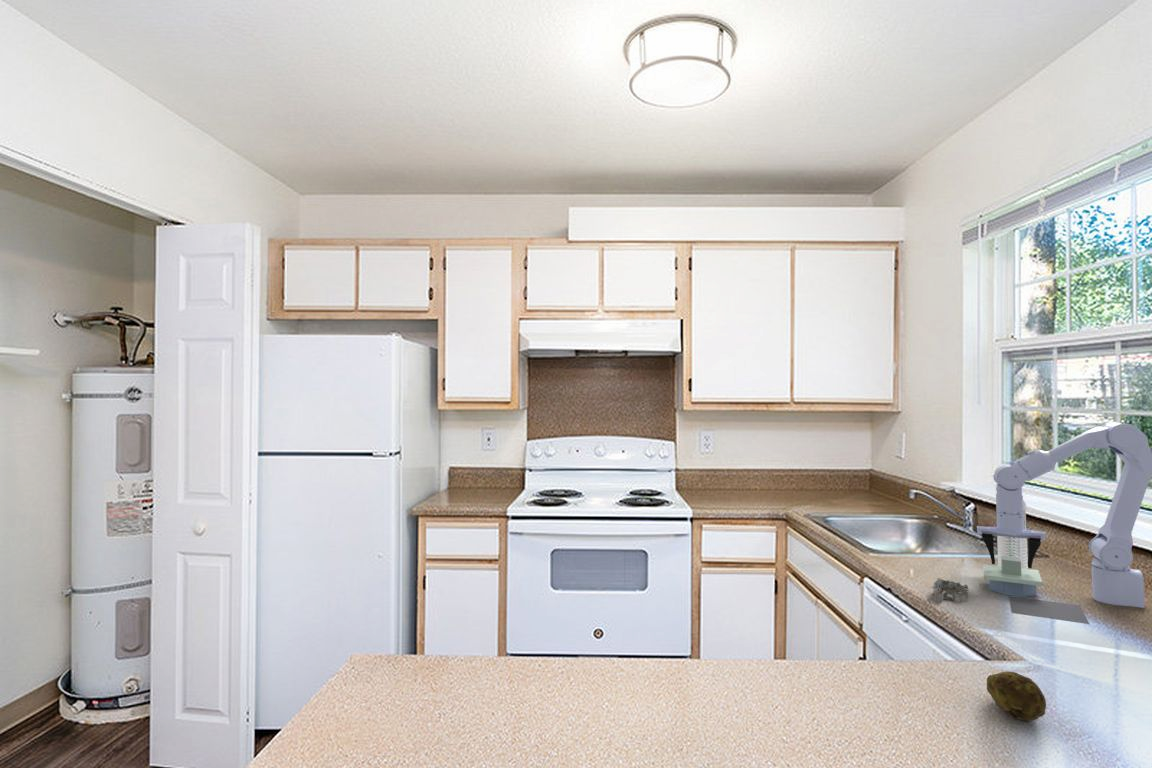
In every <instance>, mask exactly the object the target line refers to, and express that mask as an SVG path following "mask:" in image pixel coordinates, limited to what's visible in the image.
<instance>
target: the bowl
mask: <svg viewBox="0 0 1152 768" xmlns="http://www.w3.org/2000/svg"><path fill="white" fill-rule="evenodd" d="M988 589H989V591H990V590H991V591H993V592H996V593H998V594H999V593H1000V594H1001V595H1007V596H1014V597H1022V598H1026V597H1032V596H1037V585H1028V584H1020V583H1012V582H1004V581H996V580H988Z"/></svg>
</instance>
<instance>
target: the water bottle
mask: <svg viewBox="0 0 1152 768" xmlns="http://www.w3.org/2000/svg"><path fill="white" fill-rule="evenodd" d="M1026 510H1027V504H1026V501H1024V500H1023V519H1024V529H1026V530H1027V514H1026V512H1027V511H1026ZM1019 536H1020V535H1019ZM996 538H997V540H996V542H997V544H996V545H997V566H1002V565H1001V556H1004V557H1013V558H1020V560H1021V568H1023V569H1029V568H1028V541H1027V539H1026V538H1015V537H1004V536H996Z"/></svg>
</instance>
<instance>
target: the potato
mask: <svg viewBox="0 0 1152 768" xmlns="http://www.w3.org/2000/svg"><path fill="white" fill-rule="evenodd" d="M986 690H987V692H988V694H990V696H991V698H992V700H993V701H994V703H996V705H997V706H998V707H999V708H1000V709H1002V710H1003V711H1004V712H1005V713H1006V714H1007V715H1008V716H1009V717H1010V718H1013V719H1018V718H1019V719H1018V720H1021V721H1023V722H1033V721H1035V720H1038V719H1039V718H1041V717H1043V716H1044V715H1045V714H1046V709H1047V700H1046V698H1045V695H1044V692H1042V690H1041V688H1040V687H1039V685H1038V684H1037V683H1036V682H1034V680H1033V679H1031V678H1030V677H1028V676H1024V675H1022V674H1019V673H1018V672H1014V671H1006V670H1005V671H1002V672H997V673H994V674H993V673H992V674H990V675H988V677H987V678H986Z"/></svg>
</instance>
